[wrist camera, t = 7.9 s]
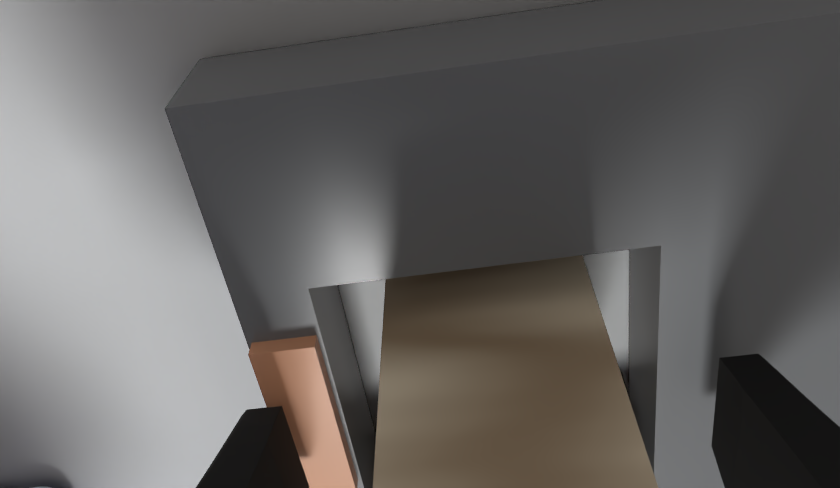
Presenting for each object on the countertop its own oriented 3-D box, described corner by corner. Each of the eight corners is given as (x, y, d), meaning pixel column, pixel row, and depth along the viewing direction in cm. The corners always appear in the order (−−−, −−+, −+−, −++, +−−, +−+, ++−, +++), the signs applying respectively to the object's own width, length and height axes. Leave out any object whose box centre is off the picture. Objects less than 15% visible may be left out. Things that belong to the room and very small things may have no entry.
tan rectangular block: (414, 393, 16) (412, 687, 11) (387, 257, 14) (370, 537, 9) (581, 376, 16) (657, 668, 11) (575, 235, 14) (666, 509, 9)
